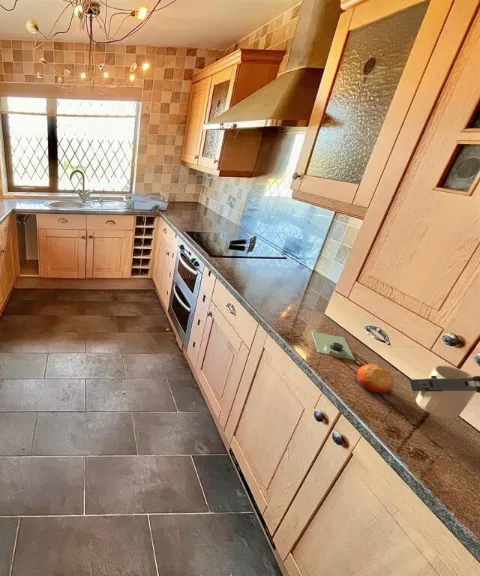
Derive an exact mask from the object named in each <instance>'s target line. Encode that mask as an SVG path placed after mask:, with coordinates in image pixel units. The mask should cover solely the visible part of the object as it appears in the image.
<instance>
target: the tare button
mask: <svg viewBox="0 0 480 576" xmlns="http://www.w3.org/2000/svg"><path fill="white" fill-rule="evenodd" d="M331 349H333V350H334V351H338V352H341V351H342V349H343V345H341V344H339V343H333V344H332V347H331Z"/></svg>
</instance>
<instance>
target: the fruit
mask: <svg viewBox="0 0 480 576" xmlns="http://www.w3.org/2000/svg"><path fill="white" fill-rule="evenodd" d="M354 380H356V381H357V382H358V384H359V385H360V387H362V388H363V389H364V390H365V391H366V392H369V393H377V394H378V393H380V394H382V393H389V392H390V391H392V388H393V387H394V383H395V378H394V377H393V376H392V374H391V372H390V371H389V370H388V369H386V368H384V367H383V366H381V365H379V364H375V363H374V364H372V363H371V364H364V365H362V366H360V367H359V368H358V370H357V373H356V378H354Z"/></svg>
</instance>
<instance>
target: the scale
mask: <svg viewBox="0 0 480 576" xmlns="http://www.w3.org/2000/svg"><path fill="white" fill-rule="evenodd" d="M311 335H312V337H313V341H314V344H315V347H316V350H317V353H319V354H324V355H328V356H332V357H334V358H337V359H342V358H343V359H348V360H352V361H355V360H356V359H355V356H354V355H353V353H352V351H351V349H350V347H349V344H348V342H347V340H346V338H345V337H343V336H339V335H338V336H337V335H332V334H327V333H321V332H316V331H311ZM333 343H339V344H341V345H343V349H342V351H341V352H338V351H334V350H333V349H331V347H332V344H333Z"/></svg>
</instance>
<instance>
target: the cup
mask: <svg viewBox="0 0 480 576" xmlns="http://www.w3.org/2000/svg"><path fill="white" fill-rule="evenodd" d="M431 376H436V377H437V379H442V378H472V377H474V376H475V375H473V374H472V373H470V372H468V371H465V370H463V369H461V368H457V367H454V366H450V365H446V364H438V365H436V366H434V367H433V369H432V370H431V372H430V373H429V375H428V377H427V379H428V378H431ZM477 393H478V392H477V391H445V390H442V391H418V394H417V395H416V397H415V402H416V405H418V406H419V408H421V409H422V410H424V411H425V412H427V413H429V414H430V415H433V416H435V417H437V418H440V419H443V420H451V421H452V420H456V419H458V418H459V416H460V415H461V414H462V413H463V411H464V410H465V408H466V407H467V406H468V404H469V403H470V401H471V400H472V399H473V398H474V396H475V394H477Z"/></svg>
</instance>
